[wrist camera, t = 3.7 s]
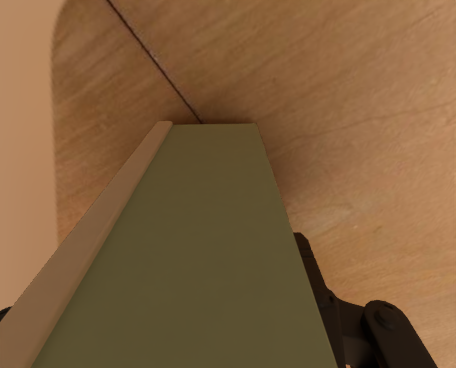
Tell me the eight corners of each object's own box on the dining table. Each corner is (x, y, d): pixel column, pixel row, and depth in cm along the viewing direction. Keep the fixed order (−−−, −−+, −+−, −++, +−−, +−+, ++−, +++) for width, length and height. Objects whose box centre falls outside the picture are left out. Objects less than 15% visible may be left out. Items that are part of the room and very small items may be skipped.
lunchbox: (177, 256, 18) (107, 568, 8) (157, 120, 14) (-97, 439, 3) (251, 255, 18) (286, 566, 8) (257, 119, 13) (369, 434, 3)
